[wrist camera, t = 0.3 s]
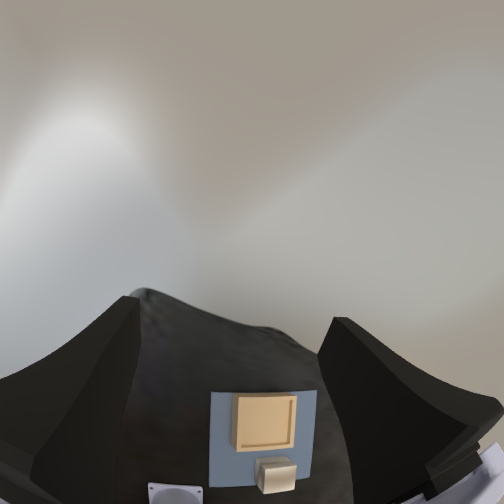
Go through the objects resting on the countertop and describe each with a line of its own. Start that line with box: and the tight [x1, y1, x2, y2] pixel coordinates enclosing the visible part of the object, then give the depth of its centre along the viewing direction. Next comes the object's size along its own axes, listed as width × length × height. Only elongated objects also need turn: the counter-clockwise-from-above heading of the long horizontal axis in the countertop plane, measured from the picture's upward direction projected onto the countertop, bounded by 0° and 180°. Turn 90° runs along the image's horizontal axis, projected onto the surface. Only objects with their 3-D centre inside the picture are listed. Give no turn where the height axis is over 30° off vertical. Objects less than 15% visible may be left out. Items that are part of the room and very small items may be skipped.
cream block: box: [254, 455, 297, 494], centre depth 29 cm, size 4×4×4 cm
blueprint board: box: [209, 390, 317, 487], centre depth 32 cm, size 16×16×4 cm
